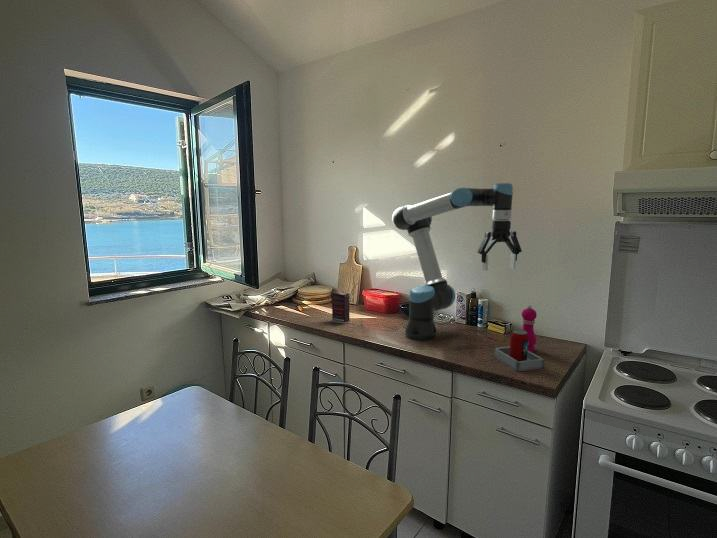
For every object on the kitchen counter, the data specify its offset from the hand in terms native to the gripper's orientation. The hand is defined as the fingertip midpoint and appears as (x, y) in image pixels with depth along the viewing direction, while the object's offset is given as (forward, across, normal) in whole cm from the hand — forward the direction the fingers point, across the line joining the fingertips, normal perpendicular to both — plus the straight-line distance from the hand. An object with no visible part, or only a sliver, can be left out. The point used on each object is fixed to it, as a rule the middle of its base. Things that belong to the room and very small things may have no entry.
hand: (498, 269), depth 177 cm
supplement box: (+35, -58, +54) cm, 87 cm away
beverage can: (+34, -2, -19) cm, 39 cm away
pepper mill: (+35, +11, -8) cm, 37 cm away
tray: (+35, -2, -19) cm, 40 cm away
